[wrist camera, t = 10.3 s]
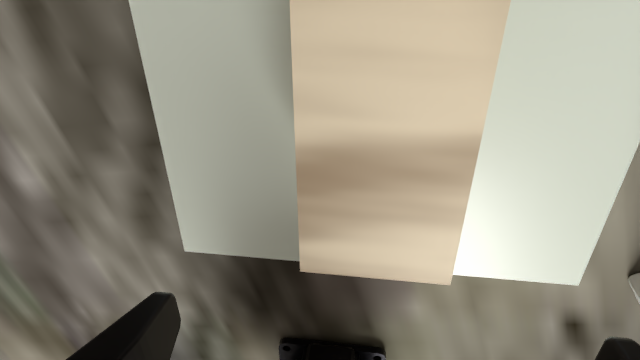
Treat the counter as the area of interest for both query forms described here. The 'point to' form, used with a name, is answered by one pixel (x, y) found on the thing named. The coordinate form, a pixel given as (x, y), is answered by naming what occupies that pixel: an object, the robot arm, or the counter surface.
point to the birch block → (389, 130)
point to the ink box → (635, 285)
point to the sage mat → (494, 153)
